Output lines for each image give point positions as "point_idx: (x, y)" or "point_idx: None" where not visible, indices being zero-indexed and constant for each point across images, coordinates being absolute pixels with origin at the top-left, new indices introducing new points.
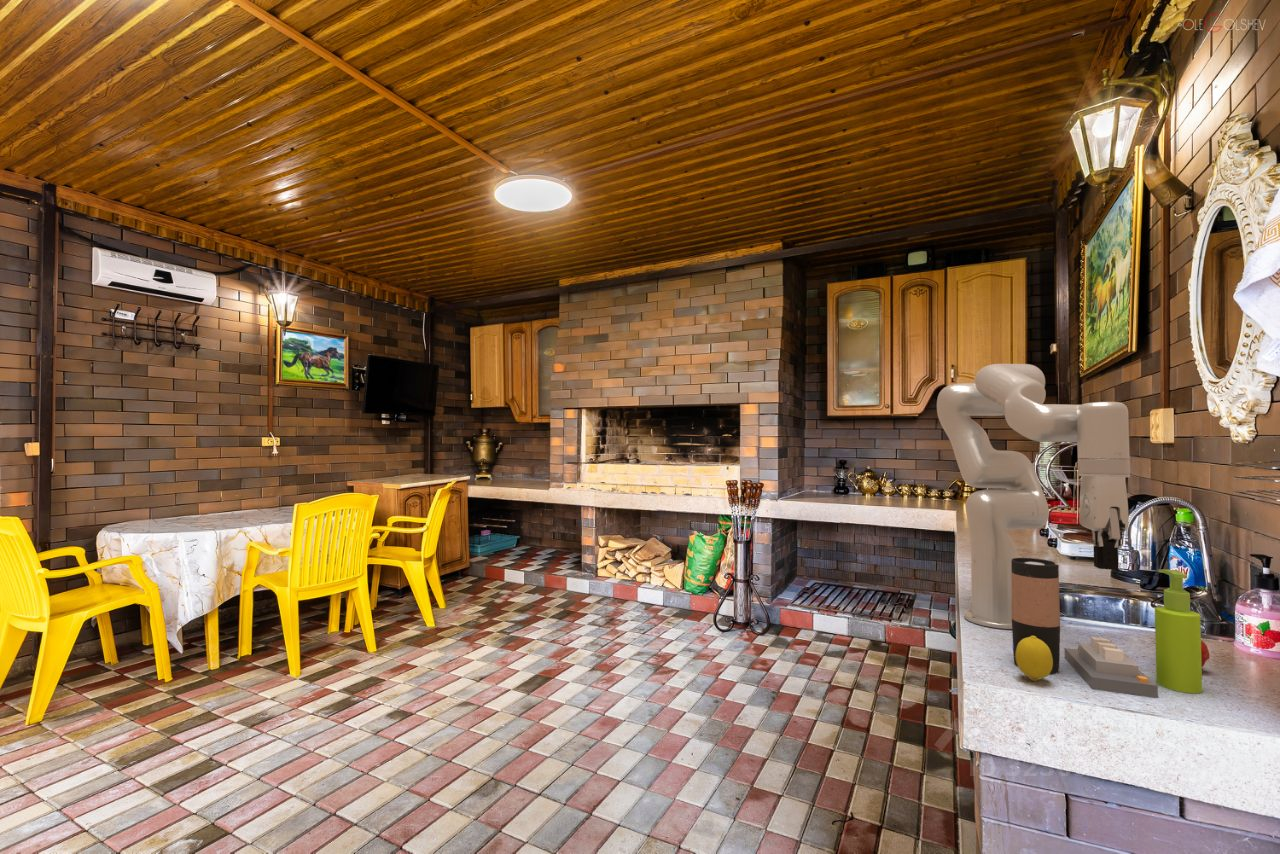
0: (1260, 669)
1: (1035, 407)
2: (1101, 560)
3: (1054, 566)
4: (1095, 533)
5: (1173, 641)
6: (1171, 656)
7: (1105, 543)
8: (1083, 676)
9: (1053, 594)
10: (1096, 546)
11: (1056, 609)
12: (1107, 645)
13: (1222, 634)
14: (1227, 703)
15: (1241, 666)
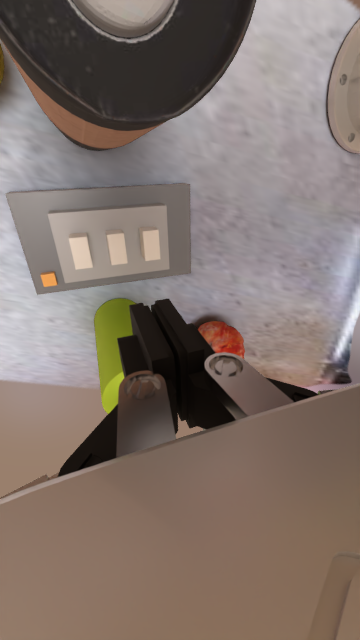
0: None
1: None
2: (136, 336)
3: (31, 66)
4: (242, 416)
5: (100, 354)
6: (100, 336)
7: (103, 424)
8: (65, 189)
9: (37, 95)
10: (160, 361)
11: (57, 121)
12: (109, 249)
13: (338, 383)
14: (80, 357)
15: None
